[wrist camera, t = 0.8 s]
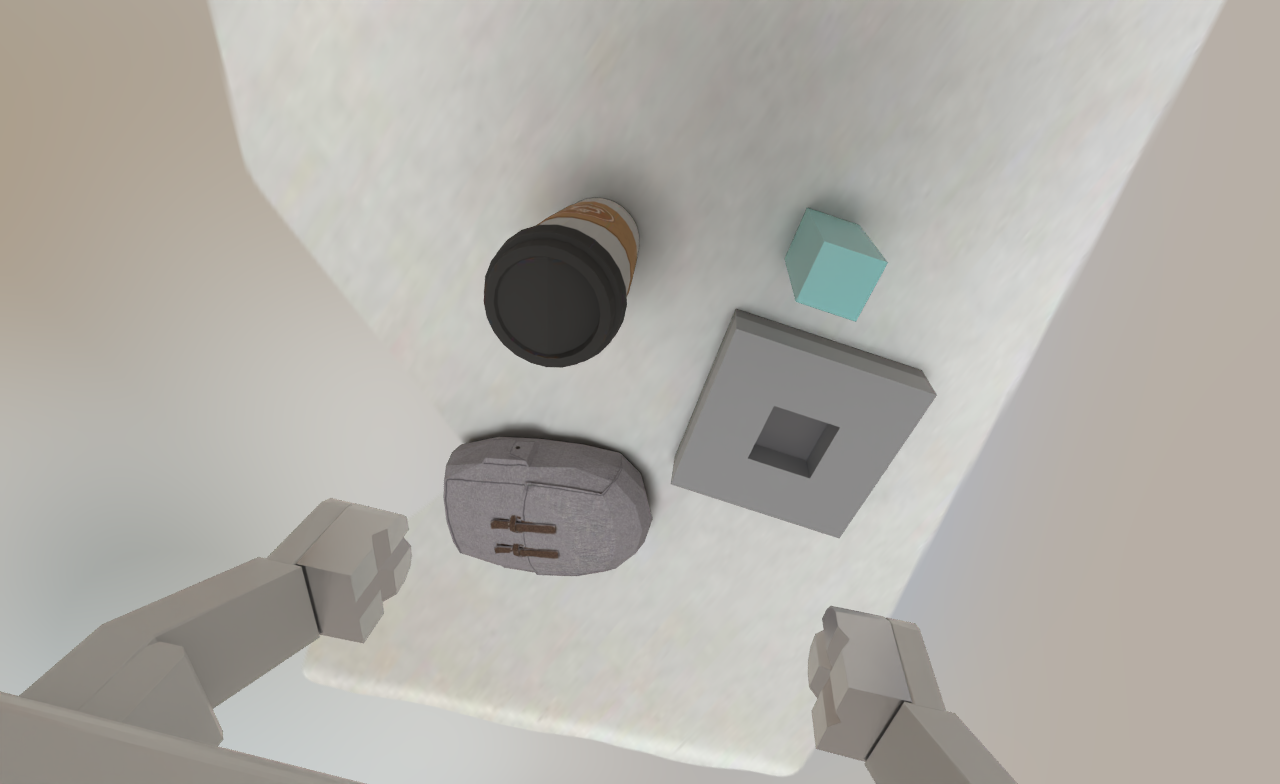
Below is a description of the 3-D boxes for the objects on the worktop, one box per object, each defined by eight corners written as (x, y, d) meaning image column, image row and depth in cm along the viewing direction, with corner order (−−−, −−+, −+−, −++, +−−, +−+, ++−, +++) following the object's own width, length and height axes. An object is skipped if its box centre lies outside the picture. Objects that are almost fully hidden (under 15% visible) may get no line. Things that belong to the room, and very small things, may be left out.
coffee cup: (658, 189, 42) (625, 245, 29) (647, 295, 46) (615, 385, 33) (548, 176, 42) (469, 225, 30) (548, 281, 47) (478, 364, 34)
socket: (735, 308, 46) (736, 328, 42) (921, 370, 46) (936, 395, 43) (674, 457, 54) (670, 484, 50) (832, 508, 54) (839, 538, 51)
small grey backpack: (476, 528, 63) (655, 548, 61) (444, 588, 56) (644, 613, 53) (455, 414, 55) (658, 432, 53) (414, 466, 48) (647, 489, 46)
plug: (807, 207, 41) (824, 241, 33) (859, 225, 41) (887, 262, 33) (784, 258, 43) (795, 301, 35) (833, 275, 43) (855, 321, 36)
